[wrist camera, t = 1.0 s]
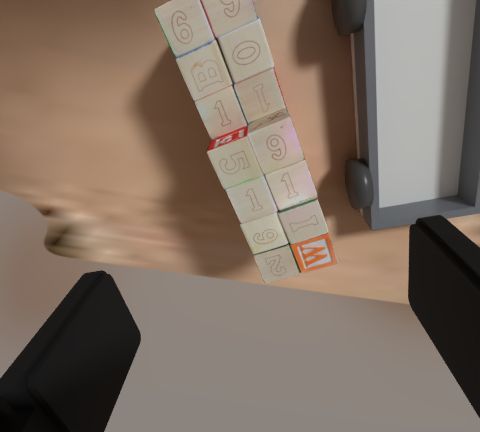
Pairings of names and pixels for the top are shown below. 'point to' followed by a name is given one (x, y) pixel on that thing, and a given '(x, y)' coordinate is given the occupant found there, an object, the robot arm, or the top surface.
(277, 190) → the stack of blocks
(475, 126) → the chassis
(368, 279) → the top surface
